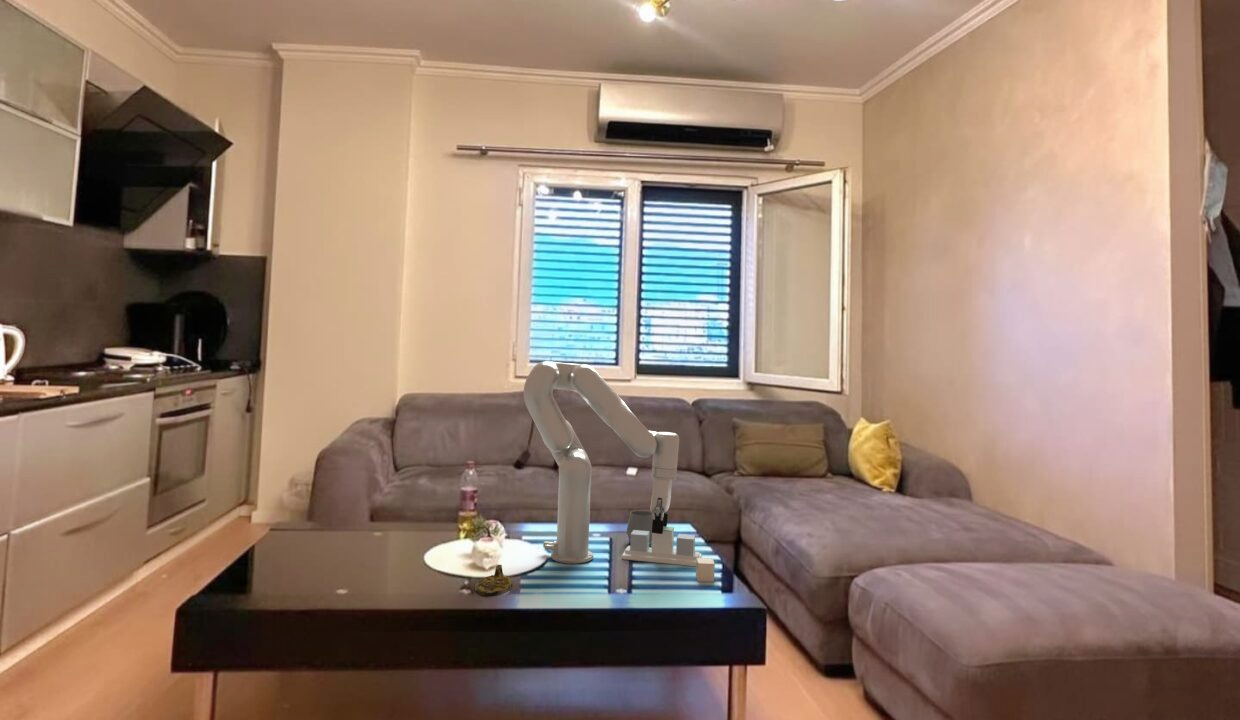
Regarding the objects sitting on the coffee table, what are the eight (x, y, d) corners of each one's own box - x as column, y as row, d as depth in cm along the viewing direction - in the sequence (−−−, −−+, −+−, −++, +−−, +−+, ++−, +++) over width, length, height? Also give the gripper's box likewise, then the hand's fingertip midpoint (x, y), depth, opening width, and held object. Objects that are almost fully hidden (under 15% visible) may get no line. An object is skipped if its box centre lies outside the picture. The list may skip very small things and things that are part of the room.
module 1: (651, 552, 203) (652, 528, 203) (653, 548, 208) (654, 525, 208) (671, 554, 202) (672, 530, 202) (673, 550, 206) (674, 527, 206)
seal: (506, 602, 168) (515, 582, 183) (508, 584, 167) (518, 564, 182) (468, 597, 168) (481, 577, 183) (471, 578, 168) (484, 559, 182)
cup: (655, 548, 215) (656, 517, 215) (626, 547, 216) (627, 515, 216) (654, 540, 225) (655, 510, 225) (626, 539, 225) (627, 509, 225)
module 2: (697, 581, 185) (698, 563, 185) (695, 575, 190) (696, 557, 190) (714, 582, 185) (714, 563, 185) (711, 576, 190) (712, 558, 190)
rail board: (622, 559, 203) (622, 535, 203) (627, 550, 212) (628, 527, 211) (698, 566, 198) (699, 541, 198) (701, 557, 207) (702, 534, 207)
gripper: (656, 467, 214) (651, 521, 214) (647, 476, 197) (642, 534, 197) (679, 470, 212) (675, 524, 212) (672, 479, 195) (668, 538, 195)
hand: (659, 529), depth 205 cm, fingers open, 9 cm apart
